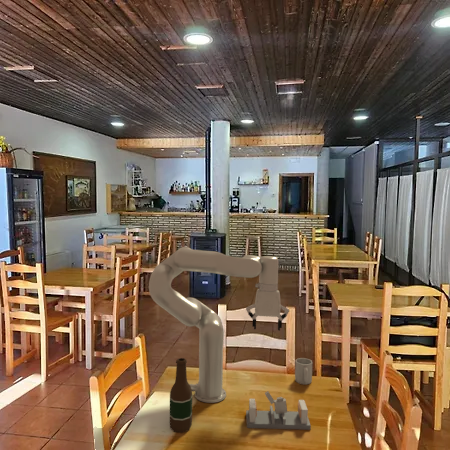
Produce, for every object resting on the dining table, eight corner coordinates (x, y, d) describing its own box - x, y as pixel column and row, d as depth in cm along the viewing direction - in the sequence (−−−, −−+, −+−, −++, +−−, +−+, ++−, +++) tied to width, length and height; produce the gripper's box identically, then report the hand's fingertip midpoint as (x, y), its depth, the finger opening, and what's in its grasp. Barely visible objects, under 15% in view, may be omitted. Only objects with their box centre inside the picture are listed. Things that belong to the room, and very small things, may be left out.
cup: (309, 377, 182) (310, 358, 181) (314, 388, 172) (315, 367, 171) (293, 377, 182) (294, 357, 181) (297, 387, 172) (298, 367, 171)
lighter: (286, 409, 146) (284, 388, 145) (287, 412, 144) (285, 390, 144) (267, 412, 146) (264, 391, 145) (267, 415, 144) (265, 393, 143)
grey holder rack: (247, 427, 141) (247, 409, 140) (246, 414, 150) (246, 397, 149) (310, 429, 140) (311, 411, 140) (305, 415, 149) (306, 398, 149)
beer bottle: (182, 436, 135) (183, 365, 134) (164, 428, 139) (165, 360, 138) (196, 425, 142) (197, 358, 140) (179, 418, 146) (179, 353, 144)
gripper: (246, 288, 159) (245, 330, 161) (290, 290, 158) (289, 333, 159) (246, 284, 167) (245, 325, 168) (289, 286, 166) (287, 327, 167)
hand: (266, 329), depth 164 cm, fingers open, 9 cm apart
